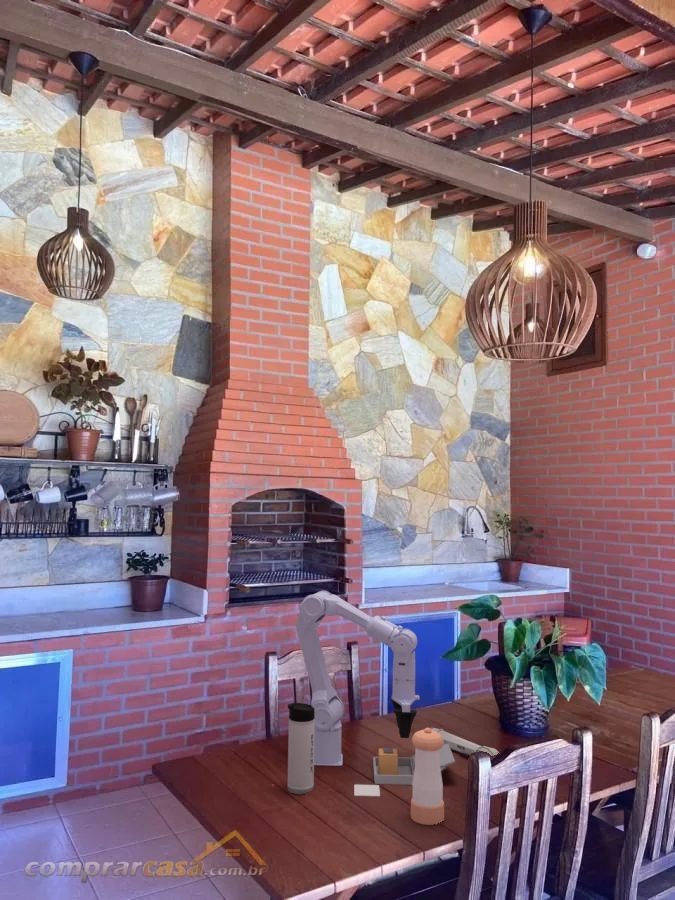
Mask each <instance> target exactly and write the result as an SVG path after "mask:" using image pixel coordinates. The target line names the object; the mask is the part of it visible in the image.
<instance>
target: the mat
mask: <svg viewBox="0 0 675 900" xmlns="http://www.w3.org/2000/svg"><path fill="white" fill-rule="evenodd" d="M353 787H354V788H353V789H354V790H353V791H354V792H353V793H354V794H353V795H354V796H353V797H381V791H380V790H381V789H380V784H354V786H353Z"/></svg>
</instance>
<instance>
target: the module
mask: <svg viewBox="0 0 675 900" xmlns="http://www.w3.org/2000/svg"><path fill="white" fill-rule="evenodd" d="M398 756H399V755H398V750H397V748H389V747H388V748H386V747H384V748H382V747H379V748H378V757H379V775H397V773H398Z"/></svg>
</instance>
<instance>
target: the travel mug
mask: <svg viewBox="0 0 675 900" xmlns="http://www.w3.org/2000/svg"><path fill="white" fill-rule="evenodd" d="M287 709H288V711H289V712H288V739H287V740H288V743H287V745H288V746H287V747H288V748H287V749H288V752H287V791H288V792H289V793H291V794H293V793H294V794H293V795H306V793H309V792H311V791H313V790H314V786H315V785H314V782H315V765H314V735H315V721H314V720H315V715H314V714H315V709H314V708H313V707H312V705H311V704H309V703H304V702H303V703H302V702H293V703H288V704H287Z"/></svg>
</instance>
